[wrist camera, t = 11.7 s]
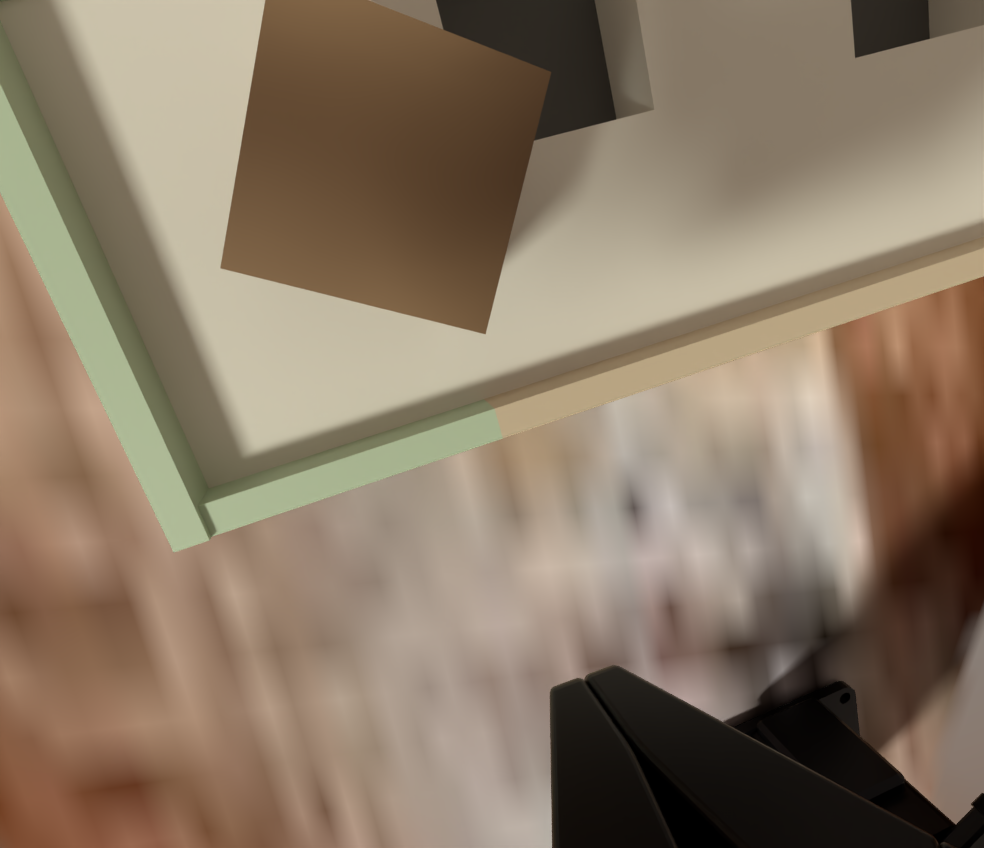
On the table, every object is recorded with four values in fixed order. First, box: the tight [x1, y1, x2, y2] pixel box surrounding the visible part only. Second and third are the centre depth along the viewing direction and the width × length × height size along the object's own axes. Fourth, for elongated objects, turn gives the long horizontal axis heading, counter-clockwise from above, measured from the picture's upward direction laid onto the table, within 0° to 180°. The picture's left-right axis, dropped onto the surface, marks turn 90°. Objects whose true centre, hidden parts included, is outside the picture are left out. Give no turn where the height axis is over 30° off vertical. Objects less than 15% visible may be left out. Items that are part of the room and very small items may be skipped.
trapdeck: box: [0, 0, 984, 552], centre depth 16 cm, size 12×36×4 cm, turn 106°
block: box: [220, 0, 551, 334], centre depth 12 cm, size 4×4×4 cm
